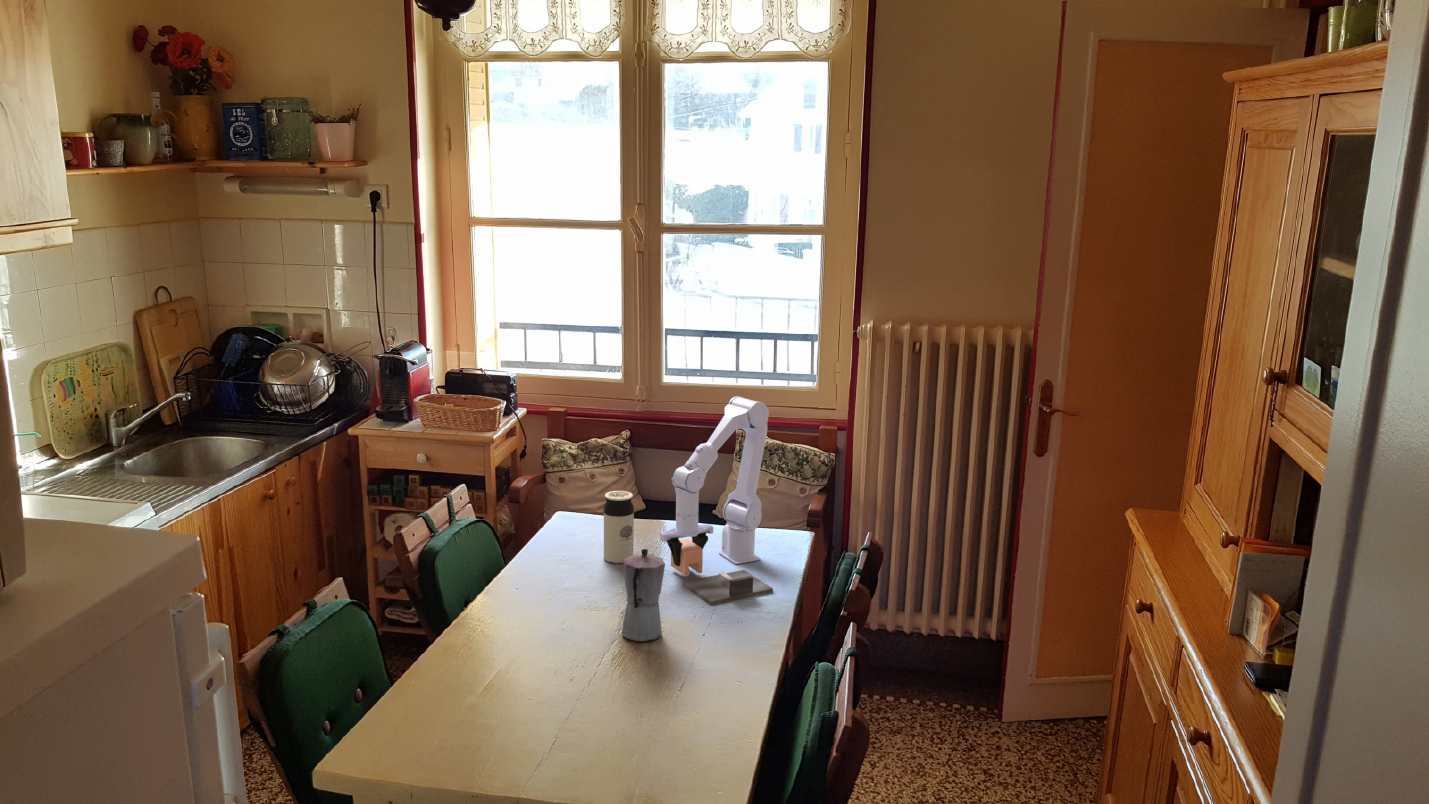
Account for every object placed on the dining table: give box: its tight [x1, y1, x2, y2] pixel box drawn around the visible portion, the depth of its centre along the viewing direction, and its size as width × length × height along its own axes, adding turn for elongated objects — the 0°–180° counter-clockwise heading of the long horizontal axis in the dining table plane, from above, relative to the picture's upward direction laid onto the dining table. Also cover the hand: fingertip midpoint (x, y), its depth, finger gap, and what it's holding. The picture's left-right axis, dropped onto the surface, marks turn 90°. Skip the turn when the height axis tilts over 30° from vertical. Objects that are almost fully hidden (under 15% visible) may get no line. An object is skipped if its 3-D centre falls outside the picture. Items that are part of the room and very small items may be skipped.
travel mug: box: [603, 490, 635, 564], centre depth 279 cm, size 8×8×18 cm
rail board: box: [682, 569, 774, 606], centre depth 262 cm, size 14×18×5 cm
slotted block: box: [670, 538, 704, 577], centre depth 270 cm, size 8×5×6 cm, turn 30°
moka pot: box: [621, 548, 666, 642], centre depth 233 cm, size 10×15×20 cm, turn 174°
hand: (686, 563), depth 271 cm, fingers closed on slotted block, 5 cm apart
